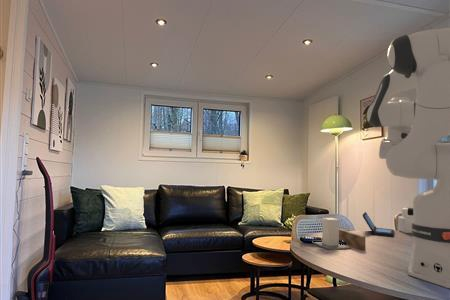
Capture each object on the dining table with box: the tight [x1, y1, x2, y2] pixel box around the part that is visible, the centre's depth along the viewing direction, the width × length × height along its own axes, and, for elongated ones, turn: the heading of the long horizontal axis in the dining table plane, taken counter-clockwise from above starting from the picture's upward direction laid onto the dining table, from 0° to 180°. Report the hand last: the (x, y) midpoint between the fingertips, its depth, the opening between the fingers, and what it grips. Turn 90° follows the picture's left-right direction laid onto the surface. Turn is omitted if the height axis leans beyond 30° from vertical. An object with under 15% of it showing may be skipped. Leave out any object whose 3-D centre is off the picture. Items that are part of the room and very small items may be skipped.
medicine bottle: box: [397, 207, 413, 234], centre depth 158 cm, size 7×7×12 cm
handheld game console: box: [362, 211, 395, 238], centre depth 154 cm, size 16×13×9 cm
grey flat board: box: [311, 240, 352, 251], centre depth 125 cm, size 12×10×1 cm
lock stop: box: [321, 217, 340, 246], centre depth 125 cm, size 4×4×10 cm
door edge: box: [339, 227, 366, 251], centre depth 129 cm, size 20×2×5 cm, turn 14°
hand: (399, 169), depth 130 cm, fingers open, 8 cm apart
